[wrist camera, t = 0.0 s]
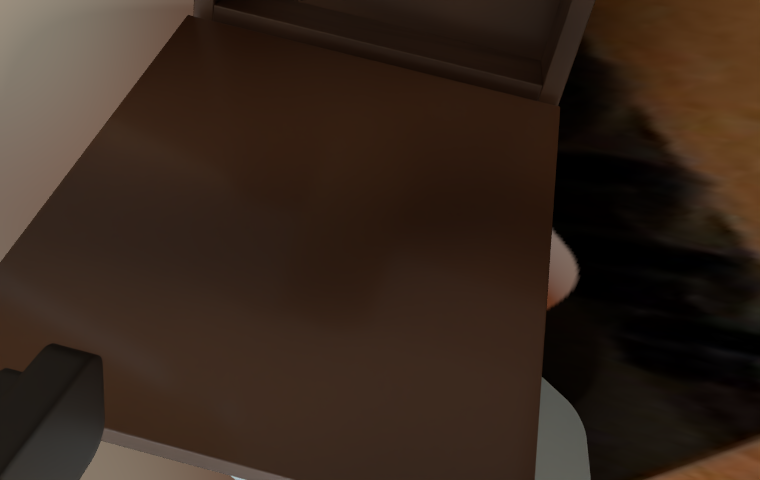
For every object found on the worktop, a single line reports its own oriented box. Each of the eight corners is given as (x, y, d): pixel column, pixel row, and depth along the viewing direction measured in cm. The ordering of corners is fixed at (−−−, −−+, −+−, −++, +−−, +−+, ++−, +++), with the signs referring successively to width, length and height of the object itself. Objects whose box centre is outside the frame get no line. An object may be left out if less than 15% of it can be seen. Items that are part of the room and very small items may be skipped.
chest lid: (-88, 376, 16) (-76, 393, 17) (531, 543, 16) (520, 554, 17) (187, 14, 27) (188, 32, 28) (560, 106, 27) (553, 122, 27)
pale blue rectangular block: (596, 409, 40) (624, 646, 29) (515, 451, 43) (514, 682, 32) (285, 121, 34) (170, 282, 23) (215, 192, 37) (82, 367, 26)
